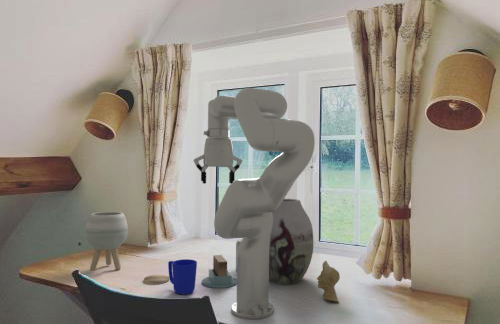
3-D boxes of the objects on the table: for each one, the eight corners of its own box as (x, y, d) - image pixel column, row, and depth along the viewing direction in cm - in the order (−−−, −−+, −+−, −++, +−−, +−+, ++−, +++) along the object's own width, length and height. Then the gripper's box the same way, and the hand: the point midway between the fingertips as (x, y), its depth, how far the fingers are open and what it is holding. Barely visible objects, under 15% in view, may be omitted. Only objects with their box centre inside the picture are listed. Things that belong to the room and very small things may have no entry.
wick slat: (221, 268, 143) (227, 275, 133) (213, 268, 142) (218, 276, 132) (221, 255, 143) (227, 261, 133) (213, 255, 142) (218, 262, 132)
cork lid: (170, 284, 135) (170, 280, 135) (144, 286, 133) (144, 282, 133) (168, 277, 144) (168, 273, 144) (144, 278, 141) (144, 275, 141)
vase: (263, 290, 128) (264, 203, 129) (250, 273, 149) (251, 197, 149) (321, 287, 132) (322, 202, 133) (301, 270, 153) (302, 197, 154)
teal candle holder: (241, 286, 133) (241, 276, 133) (205, 289, 129) (205, 279, 129) (232, 275, 145) (232, 266, 145) (199, 278, 141) (199, 268, 141)
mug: (178, 284, 134) (178, 256, 134) (201, 291, 127) (202, 262, 127) (159, 289, 128) (159, 260, 128) (182, 298, 120) (183, 266, 120)
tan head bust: (338, 305, 115) (339, 266, 115) (315, 303, 117) (315, 264, 117) (339, 296, 123) (340, 260, 123) (318, 294, 125) (318, 258, 125)
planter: (109, 261, 164) (110, 210, 164) (135, 266, 156) (136, 213, 156) (76, 270, 150) (77, 214, 151) (102, 276, 142) (103, 217, 142)
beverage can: (249, 272, 151) (250, 242, 151) (234, 271, 152) (234, 241, 152) (252, 267, 157) (253, 239, 157) (237, 266, 158) (238, 238, 158)
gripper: (195, 133, 127) (194, 184, 127) (244, 135, 132) (244, 183, 132) (192, 134, 134) (191, 182, 134) (239, 136, 139) (238, 182, 139)
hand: (217, 183), depth 133 cm, fingers open, 9 cm apart
